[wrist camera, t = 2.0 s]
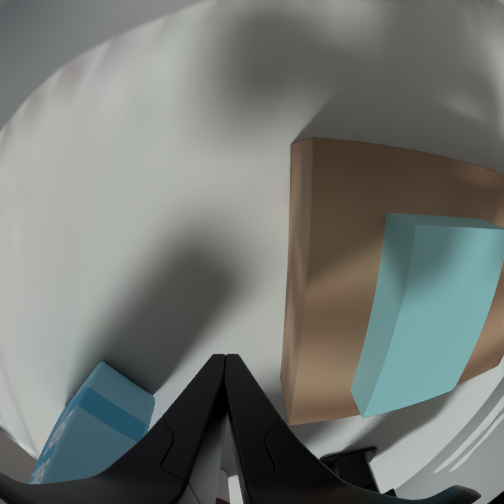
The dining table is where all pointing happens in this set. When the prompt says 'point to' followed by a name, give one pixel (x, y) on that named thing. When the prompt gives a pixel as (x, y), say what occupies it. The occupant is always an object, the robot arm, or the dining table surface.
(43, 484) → the robot arm
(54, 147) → the dining table surface
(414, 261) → the teal foam pad
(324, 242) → the brown flat block
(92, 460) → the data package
